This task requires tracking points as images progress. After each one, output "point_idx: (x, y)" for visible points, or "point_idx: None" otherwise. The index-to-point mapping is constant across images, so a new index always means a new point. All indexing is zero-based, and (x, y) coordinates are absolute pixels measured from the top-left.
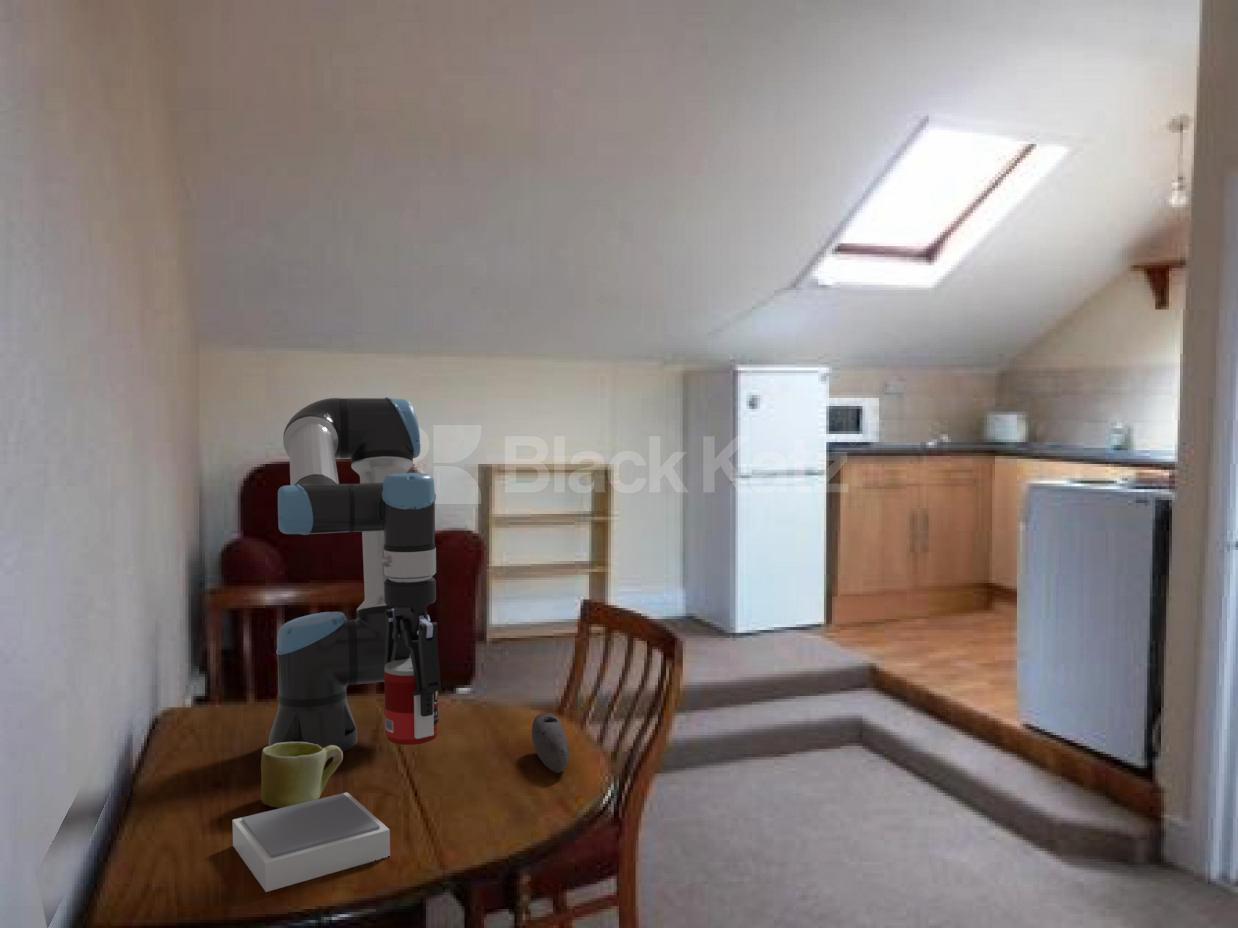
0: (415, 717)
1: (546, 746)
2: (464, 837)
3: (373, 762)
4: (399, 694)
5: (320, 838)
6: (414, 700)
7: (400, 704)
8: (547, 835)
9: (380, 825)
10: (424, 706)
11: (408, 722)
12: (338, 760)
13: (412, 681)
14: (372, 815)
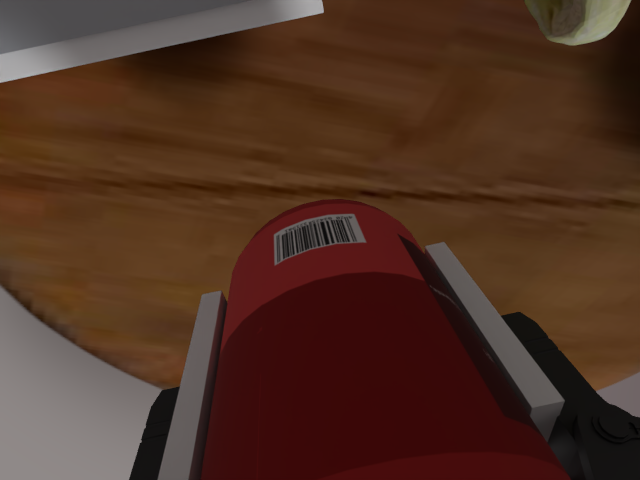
0: (195, 359)
1: None
2: (109, 238)
3: (599, 140)
4: (233, 419)
5: None
6: (188, 438)
7: (233, 363)
8: (92, 346)
9: (10, 66)
10: (142, 443)
11: (227, 316)
12: (551, 24)
13: None
14: (100, 57)
